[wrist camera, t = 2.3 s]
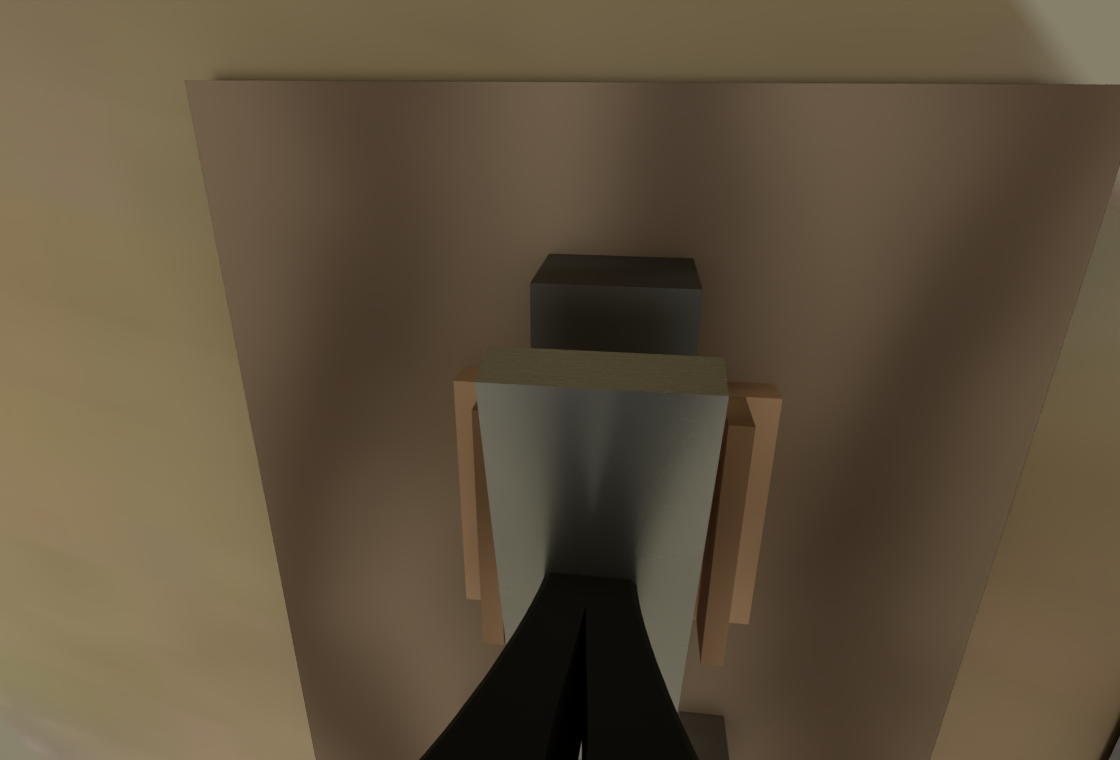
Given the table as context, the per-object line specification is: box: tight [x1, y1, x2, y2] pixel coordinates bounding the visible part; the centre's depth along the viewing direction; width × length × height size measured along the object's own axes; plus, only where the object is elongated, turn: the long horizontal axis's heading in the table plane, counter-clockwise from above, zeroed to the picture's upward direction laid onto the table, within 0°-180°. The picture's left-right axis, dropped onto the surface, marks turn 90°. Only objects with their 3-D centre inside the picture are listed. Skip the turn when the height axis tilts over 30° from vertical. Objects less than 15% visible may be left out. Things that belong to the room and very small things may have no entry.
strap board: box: [185, 80, 1120, 760], centre depth 15 cm, size 18×20×4 cm
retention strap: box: [475, 346, 729, 760], centre depth 12 cm, size 4×15×1 cm, turn 0°
